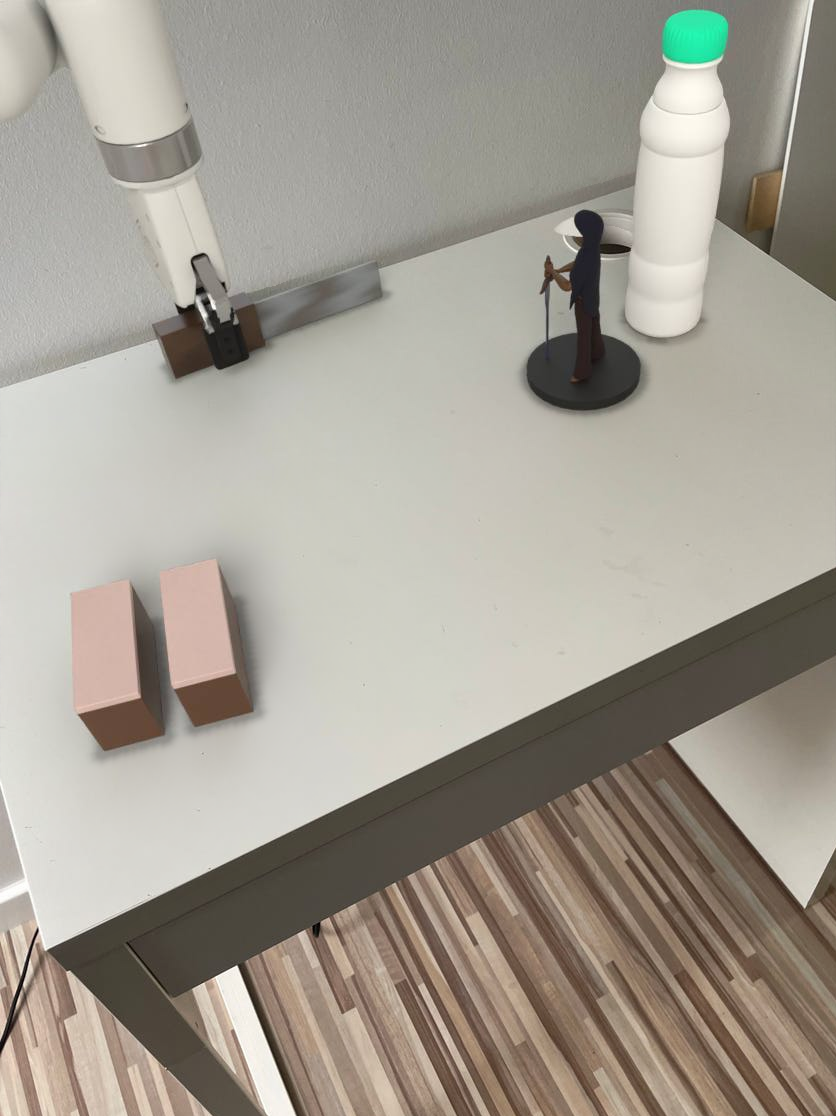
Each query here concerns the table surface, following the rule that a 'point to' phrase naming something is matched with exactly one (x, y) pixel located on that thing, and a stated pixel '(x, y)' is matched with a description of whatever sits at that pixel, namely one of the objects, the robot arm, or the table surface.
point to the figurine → (582, 333)
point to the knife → (267, 315)
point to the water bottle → (678, 178)
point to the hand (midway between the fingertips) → (213, 337)
